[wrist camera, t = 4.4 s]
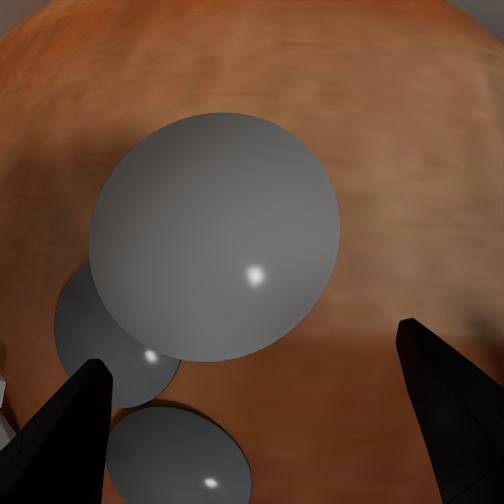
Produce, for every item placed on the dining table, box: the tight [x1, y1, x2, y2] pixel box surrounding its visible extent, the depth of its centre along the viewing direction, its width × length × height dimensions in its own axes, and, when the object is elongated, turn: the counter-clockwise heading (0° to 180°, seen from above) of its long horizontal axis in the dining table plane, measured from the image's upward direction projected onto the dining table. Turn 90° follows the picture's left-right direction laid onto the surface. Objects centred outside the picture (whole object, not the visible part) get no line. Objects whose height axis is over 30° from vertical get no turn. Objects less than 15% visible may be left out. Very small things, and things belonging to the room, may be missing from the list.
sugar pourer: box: [89, 113, 340, 362], centre depth 13 cm, size 5×5×13 cm
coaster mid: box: [106, 406, 252, 504], centre depth 16 cm, size 10×10×1 cm
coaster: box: [54, 263, 181, 408], centre depth 19 cm, size 10×10×1 cm
